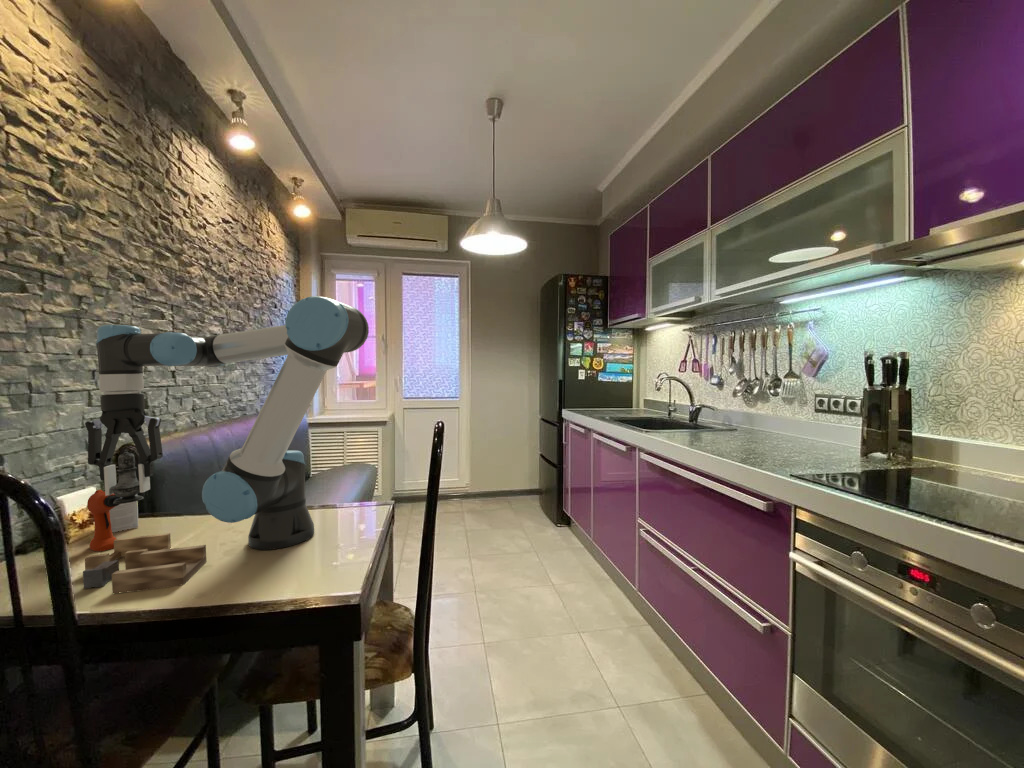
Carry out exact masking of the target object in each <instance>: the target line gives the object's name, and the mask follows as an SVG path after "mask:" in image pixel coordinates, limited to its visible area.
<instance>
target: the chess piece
mask: <svg viewBox="0 0 1024 768" xmlns="http://www.w3.org/2000/svg"><path fill="white" fill-rule="evenodd" d="M117 461H118V462H117V464H118V469H116V472H118V481H117V482H116V485H115V486H112V487H111V489H113V493H114V494H115V495H116V496H118V497H122V498H120V499H117V500H116V501H114V502H113V503H114V504H124V503H130V502H135V501H138V502H139V501H141V500H144V499H145V498H144V496H142V495H138V494H140V485H139V479H138V478H137V472H136V471H137V469H138V467H137V466H136V460H135V454H134V453H132V452H129V451H128V449H127V448H125V449H124V452H123V453H121V454H120V455H119V456H118V457H117ZM136 494H137V496H135V495H136Z"/></svg>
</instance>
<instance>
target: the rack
mask: <svg viewBox="0 0 1024 768" xmlns="http://www.w3.org/2000/svg"><path fill="white" fill-rule="evenodd" d="M207 561H208V560H207V545H206V544H202V545H201V544H200V545H192V546H182V547H176V548H175V547H173V548H171V549H164V550H156V551H147V552H143V553H141V554H140V566H139V567H138V568H136V569H128V570H126V569H122V570H121V569H119V571H116V572H114V573H113V574H112V579H111V585H112V589H111V590H112V591H111V592H112V594H113V593H118V594H120V593H119V592H126V593H128V592H127V591H133V592H138V591H137V590H141V591H146V590H155V589H161V588H171V587H177V586H182V585H185V584H186V583H187V582H188V581H189V579H191V578H193V577H194V575H195V574H196V573H197V572H198V571H199V570H200V569H201V568H203V566H204V565H205V564H206V563H207Z"/></svg>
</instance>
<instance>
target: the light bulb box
mask: <svg viewBox="0 0 1024 768" xmlns="http://www.w3.org/2000/svg"><path fill="white" fill-rule="evenodd" d="M135 496H138V494H136V495H135ZM121 498H122V497H121ZM138 503H139V501H135V502H130V503H124V504H119V505H118V506H115V507H114V508H112V509H111V510H110V511H109V512H110V521H111V529H112V532H113V533H117V532H118V531H119V532H123V531H122V530H124V531H128V530H127V529H129V530H132V529H131V528H134V529H137V528H136V527H138V528H139V506H138V505H139V504H138Z"/></svg>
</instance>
